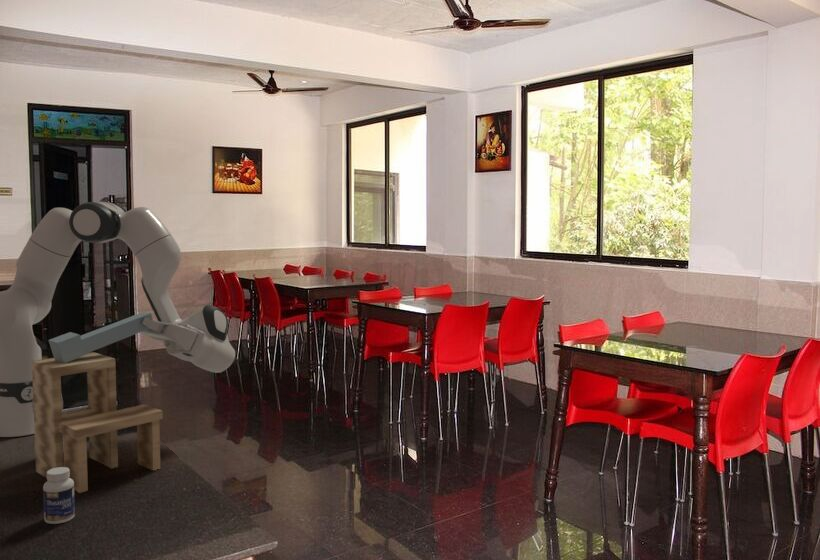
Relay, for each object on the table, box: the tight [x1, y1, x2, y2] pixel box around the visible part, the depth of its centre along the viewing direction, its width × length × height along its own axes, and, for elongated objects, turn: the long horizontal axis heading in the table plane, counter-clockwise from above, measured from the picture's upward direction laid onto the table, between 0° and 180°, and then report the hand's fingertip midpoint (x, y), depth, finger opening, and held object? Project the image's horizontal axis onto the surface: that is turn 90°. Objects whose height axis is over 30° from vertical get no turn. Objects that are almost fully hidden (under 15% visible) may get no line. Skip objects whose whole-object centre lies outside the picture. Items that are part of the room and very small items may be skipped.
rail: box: [47, 311, 154, 363], centre depth 162 cm, size 5×23×5 cm, turn 140°
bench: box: [59, 403, 164, 494], centre depth 155 cm, size 8×20×14 cm, turn 140°
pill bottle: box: [42, 467, 76, 525], centre depth 133 cm, size 5×5×10 cm
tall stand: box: [32, 351, 119, 479], centre depth 158 cm, size 11×14×26 cm
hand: (137, 319), depth 168 cm, fingers open, 3 cm apart
